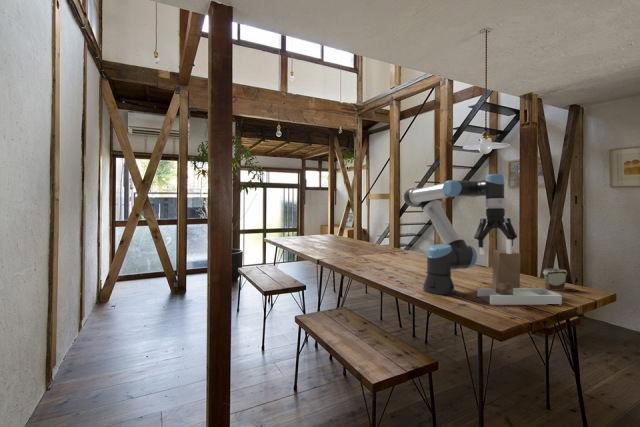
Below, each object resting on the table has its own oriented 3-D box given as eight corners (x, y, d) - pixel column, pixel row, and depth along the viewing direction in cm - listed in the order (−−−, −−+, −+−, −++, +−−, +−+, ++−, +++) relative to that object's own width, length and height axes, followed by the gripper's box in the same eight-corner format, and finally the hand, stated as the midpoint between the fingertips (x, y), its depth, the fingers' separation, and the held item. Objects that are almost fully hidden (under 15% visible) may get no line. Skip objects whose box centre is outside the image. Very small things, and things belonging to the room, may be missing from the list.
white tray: (490, 304, 142) (491, 295, 142) (477, 296, 154) (477, 288, 154) (561, 304, 143) (561, 295, 143) (542, 296, 155) (542, 288, 155)
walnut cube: (502, 295, 146) (502, 284, 146) (495, 292, 151) (496, 281, 150) (512, 295, 146) (513, 284, 146) (506, 292, 151) (506, 281, 151)
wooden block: (519, 292, 161) (521, 253, 160) (498, 291, 163) (499, 252, 162) (512, 287, 170) (513, 250, 170) (491, 286, 172) (492, 249, 172)
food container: (556, 286, 173) (556, 267, 173) (566, 289, 167) (567, 270, 167) (536, 287, 171) (537, 268, 171) (546, 290, 165) (547, 271, 165)
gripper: (476, 208, 141) (476, 256, 141) (525, 207, 145) (526, 254, 145) (465, 208, 148) (466, 254, 148) (512, 207, 152) (513, 252, 152)
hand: (495, 254), depth 146 cm, fingers open, 13 cm apart
